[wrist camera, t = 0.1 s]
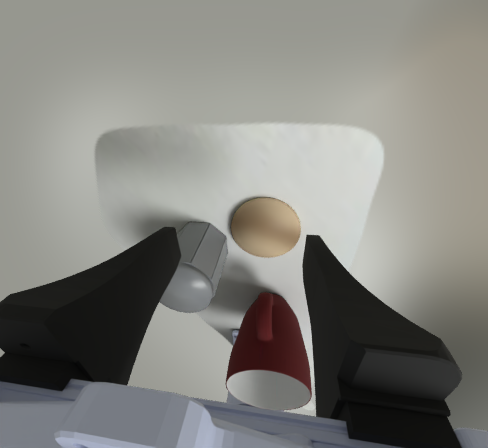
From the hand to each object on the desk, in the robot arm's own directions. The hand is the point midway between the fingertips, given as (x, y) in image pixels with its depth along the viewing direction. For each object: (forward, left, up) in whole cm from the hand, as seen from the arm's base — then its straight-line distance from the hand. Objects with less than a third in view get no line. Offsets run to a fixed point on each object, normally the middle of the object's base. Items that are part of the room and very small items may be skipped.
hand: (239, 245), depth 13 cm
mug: (-16, -2, -10) cm, 19 cm away
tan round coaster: (-5, -1, -10) cm, 11 cm away
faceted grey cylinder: (-8, +6, -10) cm, 14 cm away
